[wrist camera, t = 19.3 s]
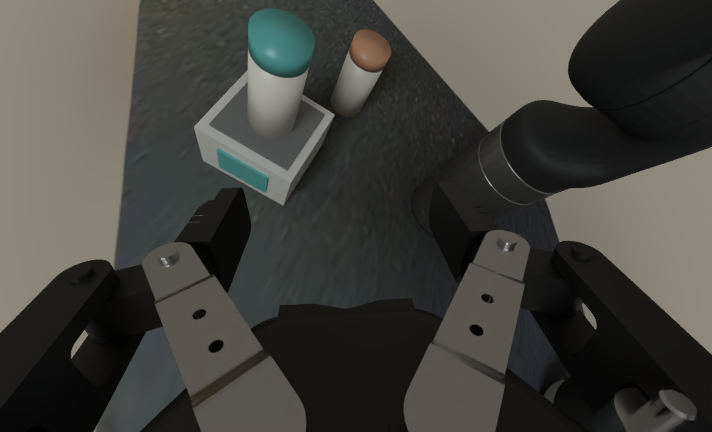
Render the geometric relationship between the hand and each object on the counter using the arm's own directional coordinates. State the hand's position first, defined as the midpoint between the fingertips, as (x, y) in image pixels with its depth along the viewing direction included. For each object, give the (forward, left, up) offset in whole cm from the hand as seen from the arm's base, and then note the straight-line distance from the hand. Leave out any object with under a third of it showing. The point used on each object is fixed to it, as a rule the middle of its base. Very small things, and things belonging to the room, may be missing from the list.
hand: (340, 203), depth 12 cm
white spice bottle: (-25, -14, -25) cm, 38 cm away
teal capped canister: (-9, -14, -17) cm, 24 cm away
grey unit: (-9, -14, -25) cm, 30 cm away
